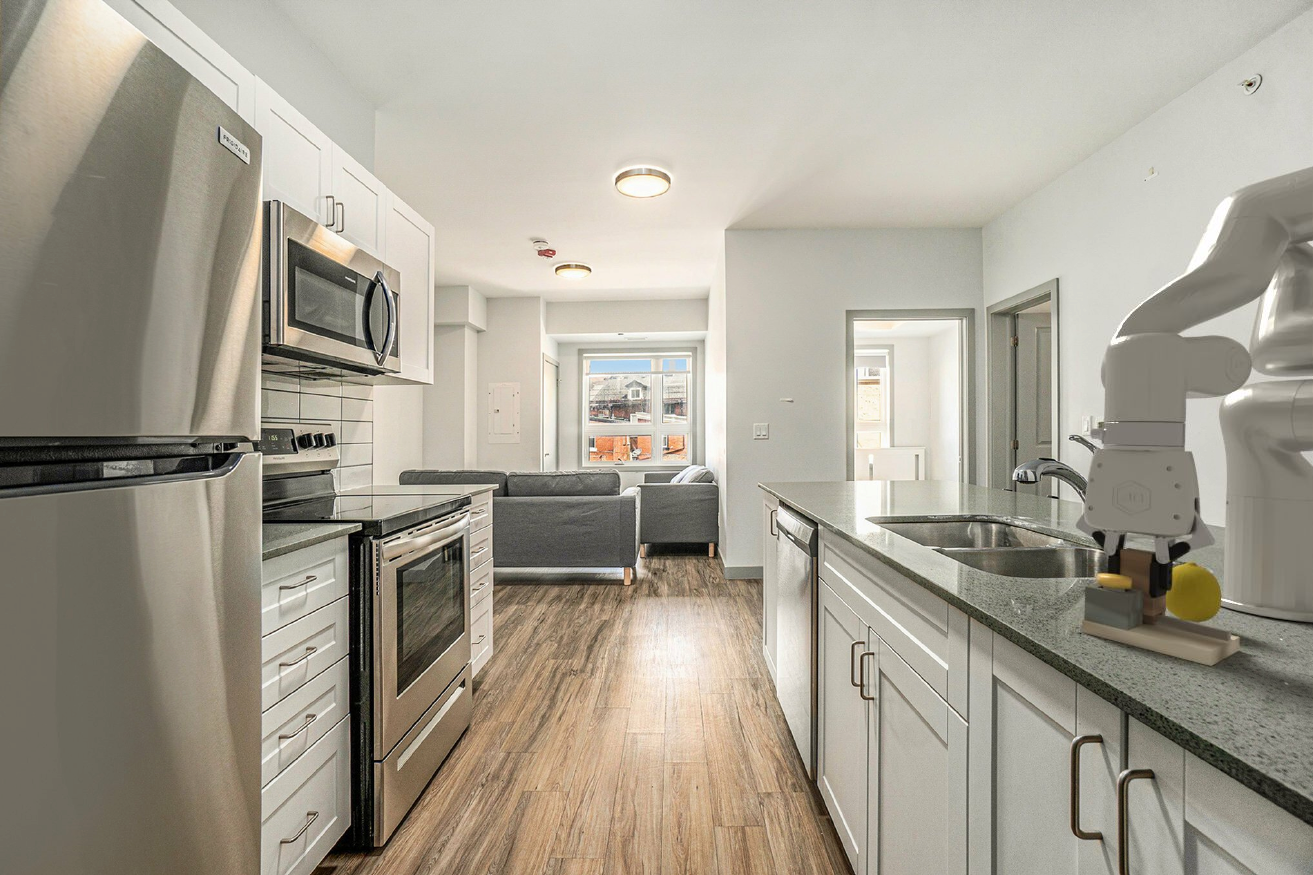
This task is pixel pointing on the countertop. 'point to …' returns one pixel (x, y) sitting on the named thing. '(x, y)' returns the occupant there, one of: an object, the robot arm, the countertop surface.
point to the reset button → (1114, 582)
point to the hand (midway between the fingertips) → (1138, 590)
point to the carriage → (1142, 580)
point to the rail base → (1153, 627)
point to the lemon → (1193, 593)
